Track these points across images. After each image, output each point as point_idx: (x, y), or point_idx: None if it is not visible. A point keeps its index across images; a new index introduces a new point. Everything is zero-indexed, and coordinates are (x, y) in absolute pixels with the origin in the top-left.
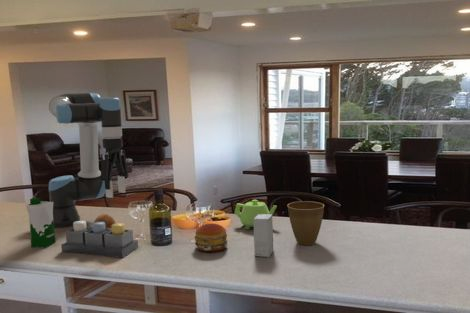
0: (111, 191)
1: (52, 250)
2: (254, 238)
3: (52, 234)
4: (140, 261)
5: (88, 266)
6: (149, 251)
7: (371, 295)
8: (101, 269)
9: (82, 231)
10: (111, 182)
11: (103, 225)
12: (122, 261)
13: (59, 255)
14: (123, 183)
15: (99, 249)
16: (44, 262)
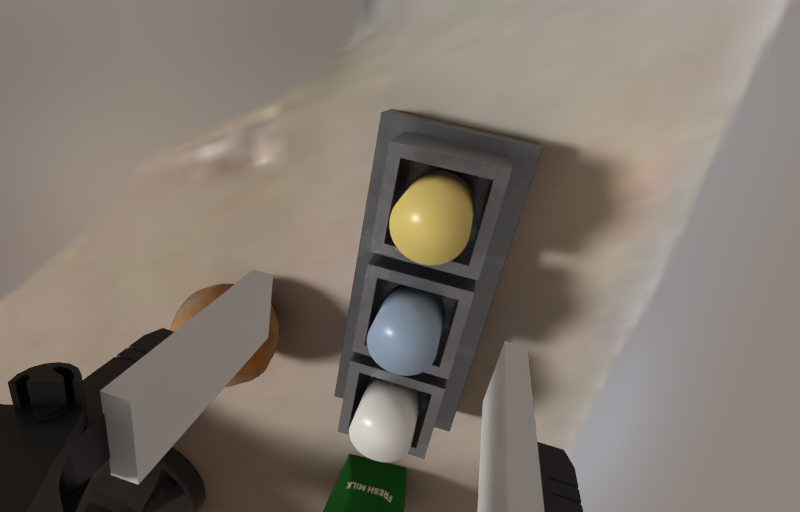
0: (529, 399)
1: (434, 442)
2: None
3: (364, 488)
4: (606, 21)
5: (639, 266)
6: (450, 22)
7: None
8: (693, 195)
9: (409, 394)
10: (531, 506)
11: (414, 313)
12: (593, 126)
13: None
14: (208, 339)
15: (501, 270)
16: (564, 434)
